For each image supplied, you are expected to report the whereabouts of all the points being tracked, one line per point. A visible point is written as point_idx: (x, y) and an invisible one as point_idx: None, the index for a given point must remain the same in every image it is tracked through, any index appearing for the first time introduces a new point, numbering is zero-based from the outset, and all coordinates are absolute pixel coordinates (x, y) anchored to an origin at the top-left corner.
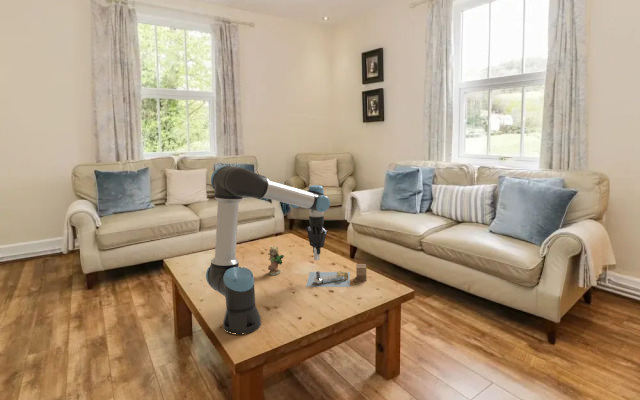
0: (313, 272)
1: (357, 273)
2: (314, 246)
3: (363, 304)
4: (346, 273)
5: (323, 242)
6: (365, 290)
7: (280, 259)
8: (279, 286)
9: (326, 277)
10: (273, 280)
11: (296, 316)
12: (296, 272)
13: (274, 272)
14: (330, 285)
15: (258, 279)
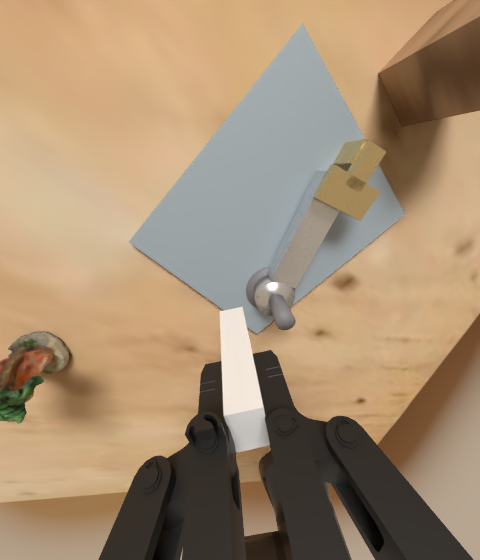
0: (146, 232)
1: (459, 110)
2: (237, 471)
3: None
4: (378, 161)
5: (442, 545)
6: (473, 174)
7: (10, 402)
8: (182, 377)
9: (292, 263)
10: (120, 374)
11: (350, 403)
12: (81, 281)
13: (56, 363)
14: (324, 266)
15: (82, 400)
